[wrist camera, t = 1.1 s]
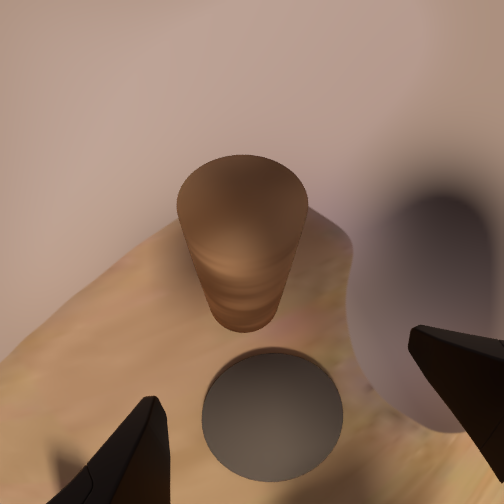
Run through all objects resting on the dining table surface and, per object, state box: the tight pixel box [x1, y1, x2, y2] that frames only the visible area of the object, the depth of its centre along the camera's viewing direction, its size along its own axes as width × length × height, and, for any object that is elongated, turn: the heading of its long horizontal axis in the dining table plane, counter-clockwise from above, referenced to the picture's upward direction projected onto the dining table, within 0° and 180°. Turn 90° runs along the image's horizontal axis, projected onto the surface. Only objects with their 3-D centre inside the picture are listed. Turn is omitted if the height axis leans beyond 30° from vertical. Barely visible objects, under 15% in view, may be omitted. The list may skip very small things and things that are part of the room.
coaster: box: [202, 353, 343, 482], centre depth 18 cm, size 11×11×1 cm
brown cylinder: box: [177, 155, 308, 333], centre depth 18 cm, size 6×6×13 cm
